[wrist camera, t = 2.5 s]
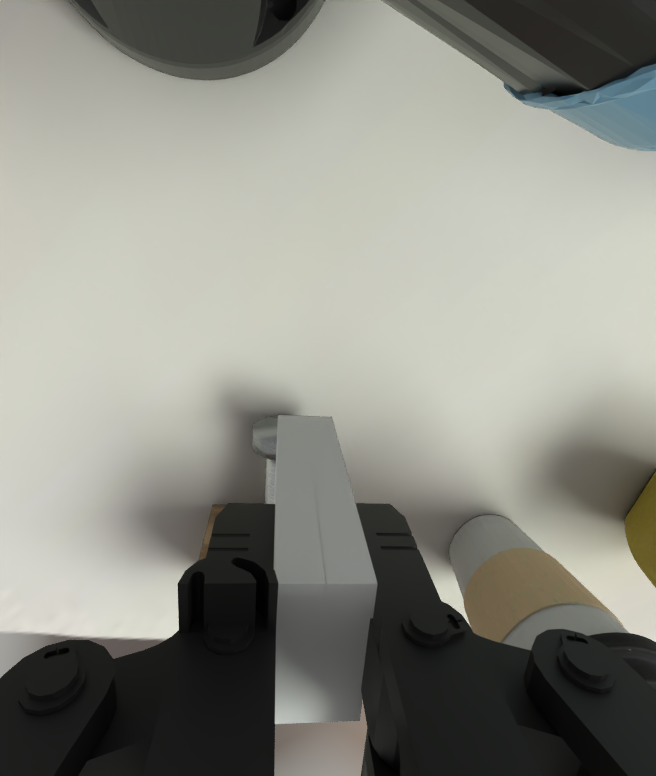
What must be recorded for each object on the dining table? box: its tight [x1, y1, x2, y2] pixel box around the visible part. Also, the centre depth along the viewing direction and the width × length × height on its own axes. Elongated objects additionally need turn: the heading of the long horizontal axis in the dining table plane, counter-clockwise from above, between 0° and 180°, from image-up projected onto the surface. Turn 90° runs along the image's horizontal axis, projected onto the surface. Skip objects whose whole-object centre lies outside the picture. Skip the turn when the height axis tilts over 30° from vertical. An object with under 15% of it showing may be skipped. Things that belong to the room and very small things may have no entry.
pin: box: [252, 416, 278, 504], centre depth 31 cm, size 11×4×4 cm, turn 176°
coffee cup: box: [449, 515, 656, 690], centre depth 29 cm, size 9×9×15 cm
